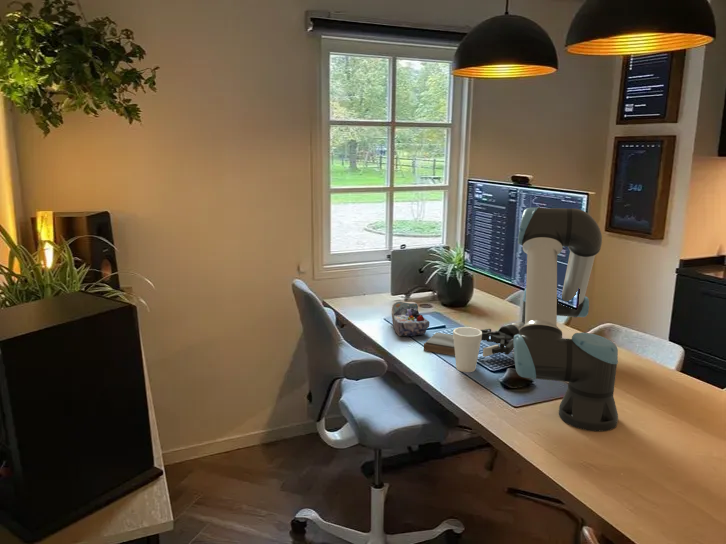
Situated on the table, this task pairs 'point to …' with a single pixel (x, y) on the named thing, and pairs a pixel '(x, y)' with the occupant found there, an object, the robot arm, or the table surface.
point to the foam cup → (466, 347)
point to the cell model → (408, 319)
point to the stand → (440, 344)
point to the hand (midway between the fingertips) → (469, 346)
